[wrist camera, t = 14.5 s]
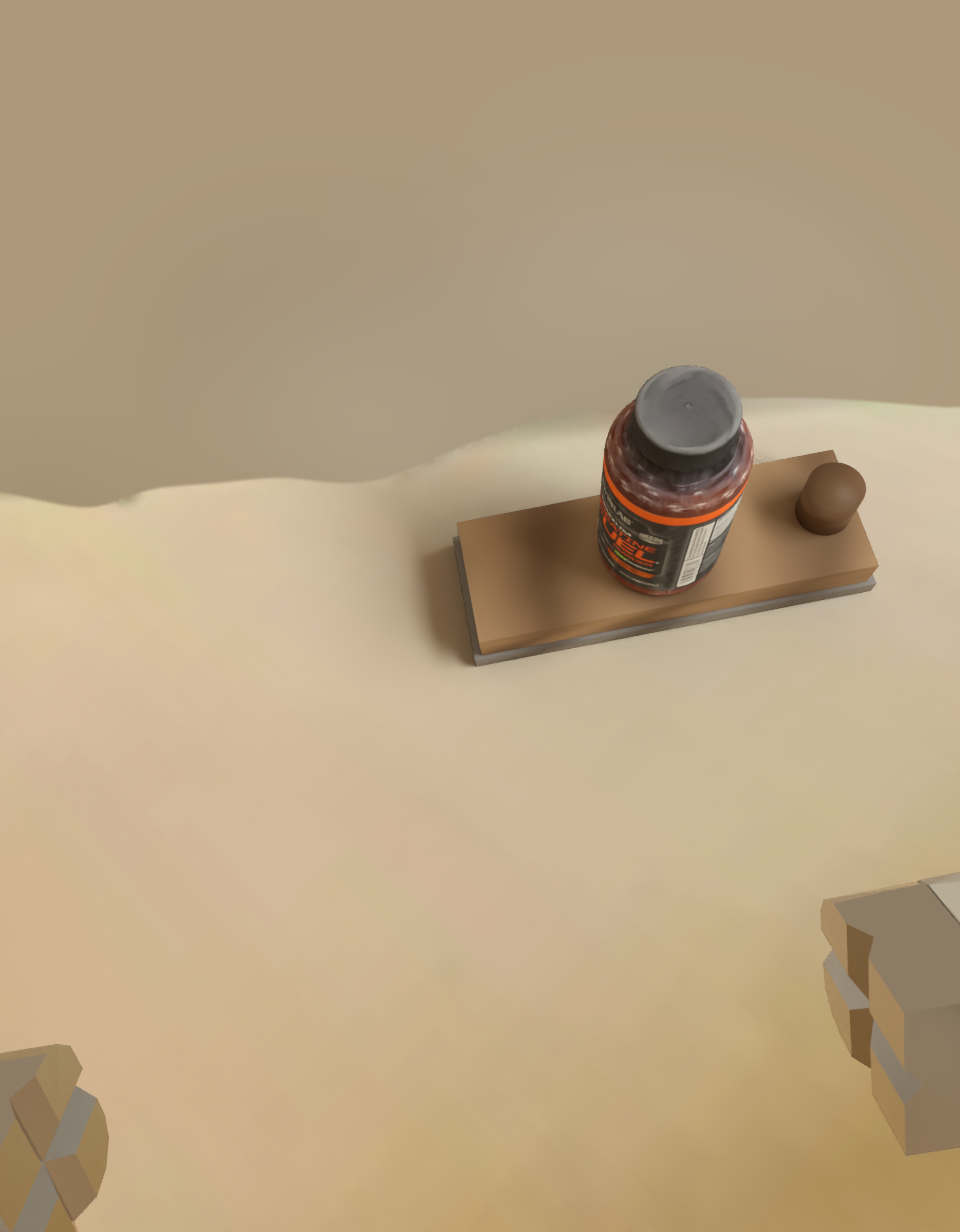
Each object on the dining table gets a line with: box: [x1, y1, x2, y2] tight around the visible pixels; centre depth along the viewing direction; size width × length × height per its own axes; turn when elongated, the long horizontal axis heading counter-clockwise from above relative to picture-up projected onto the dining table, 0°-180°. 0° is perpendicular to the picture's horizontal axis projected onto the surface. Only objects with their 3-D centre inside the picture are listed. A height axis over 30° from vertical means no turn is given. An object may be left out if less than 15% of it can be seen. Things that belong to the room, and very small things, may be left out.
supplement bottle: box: [597, 365, 754, 596], centre depth 38 cm, size 6×6×11 cm
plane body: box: [453, 450, 879, 666], centre depth 43 cm, size 20×7×5 cm, turn 100°
